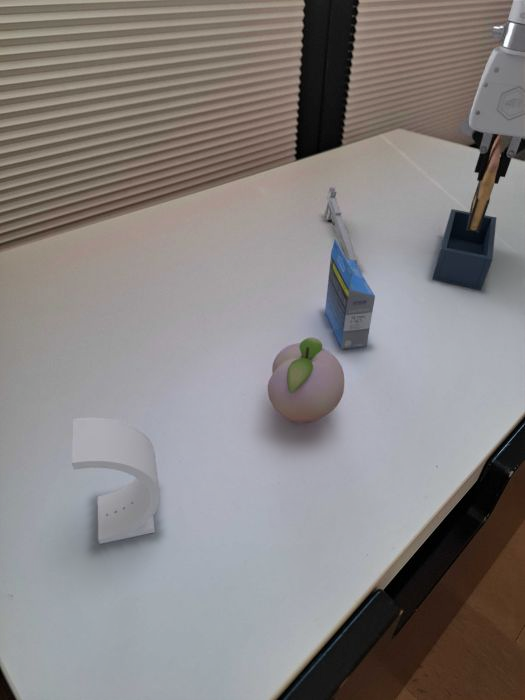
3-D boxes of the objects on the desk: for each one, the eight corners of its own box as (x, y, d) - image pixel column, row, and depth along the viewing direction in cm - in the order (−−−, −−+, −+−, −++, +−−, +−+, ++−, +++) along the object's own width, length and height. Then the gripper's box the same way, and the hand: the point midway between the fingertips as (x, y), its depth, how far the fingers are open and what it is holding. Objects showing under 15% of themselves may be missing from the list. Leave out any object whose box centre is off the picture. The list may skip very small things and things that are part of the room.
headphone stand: (98, 501, 50) (73, 418, 42) (161, 489, 51) (147, 406, 43) (99, 544, 46) (71, 463, 38) (166, 530, 47) (152, 449, 40)
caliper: (323, 215, 99) (327, 184, 95) (329, 215, 99) (333, 184, 95) (351, 271, 83) (357, 237, 79) (357, 271, 83) (364, 236, 79)
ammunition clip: (478, 233, 77) (505, 154, 70) (466, 231, 78) (491, 152, 70) (482, 206, 85) (507, 131, 77) (471, 204, 86) (495, 129, 78)
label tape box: (367, 347, 69) (384, 269, 61) (338, 350, 68) (351, 271, 60) (348, 309, 75) (361, 234, 67) (322, 311, 75) (331, 235, 67)
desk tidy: (486, 246, 91) (496, 217, 88) (480, 290, 80) (492, 259, 77) (443, 237, 93) (451, 208, 90) (432, 279, 82) (441, 248, 79)
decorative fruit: (335, 450, 55) (348, 384, 49) (261, 438, 56) (264, 372, 50) (340, 390, 62) (352, 325, 56) (274, 380, 63) (278, 316, 57)
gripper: (467, 38, 65) (432, 179, 77) (604, 51, 61) (543, 198, 73) (472, 29, 70) (438, 162, 82) (597, 41, 66) (542, 179, 78)
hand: (488, 178), depth 77 cm, fingers closed on ammunition clip, 1 cm apart
